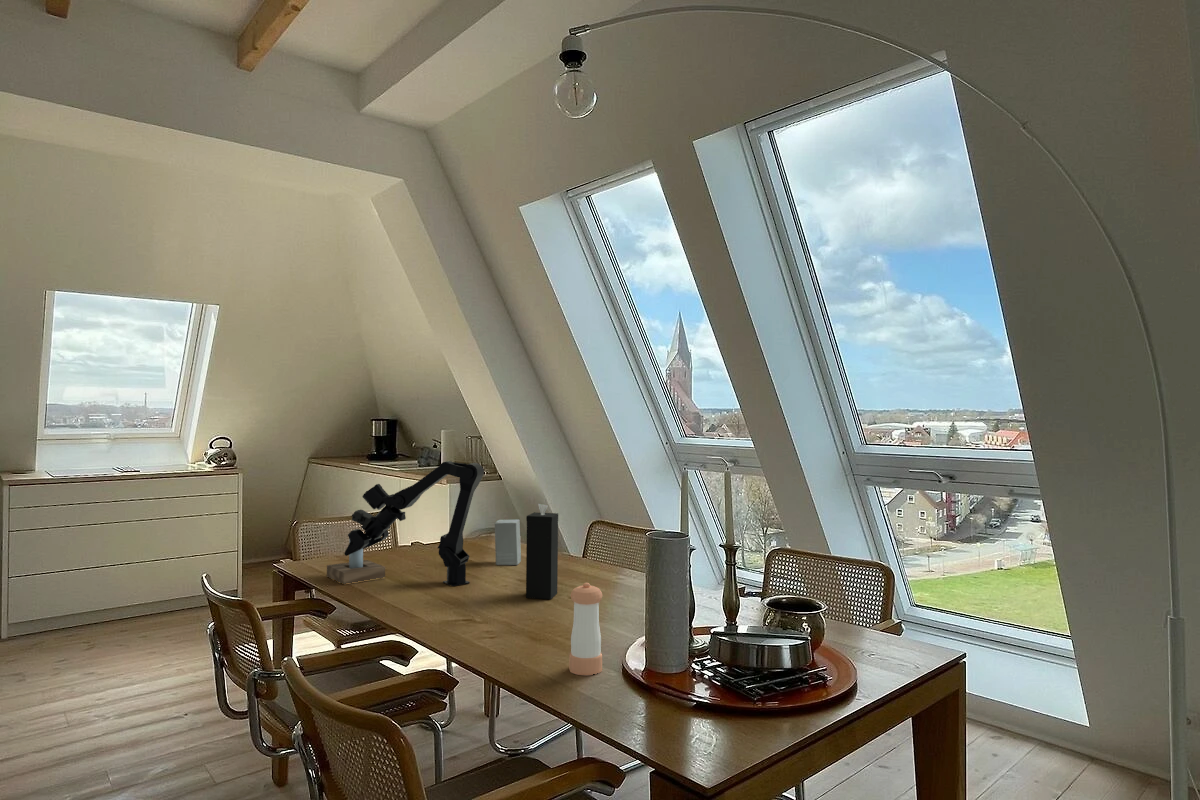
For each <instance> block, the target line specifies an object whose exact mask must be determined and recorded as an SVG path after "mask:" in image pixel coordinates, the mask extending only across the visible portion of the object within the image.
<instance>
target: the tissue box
mask: <svg viewBox="0 0 1200 800" xmlns="http://www.w3.org/2000/svg"><path fill="white" fill-rule="evenodd" d="M537 504H538V509H539V512H533V513H530V514H527V515H526V549H525V550H526V551H525V552H526V558H525V560H526V563H525V564H526V566H525V568H526V570H525V598H527V599H539V600H552V599H553V598H554V597H556V595H557V594H558V571H559V569H558V565H559V564H558V563H559V561H558V560H559V559H558V557H559V556H558V554H559V553H558V552H559V513H558V512H556V513H555V512H546V511H547V509H548V507H549V505H547V504H543V503H542V504H541V503H537Z"/></svg>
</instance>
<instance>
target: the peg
mask: <svg viewBox="0 0 1200 800" xmlns="http://www.w3.org/2000/svg"><path fill="white" fill-rule="evenodd" d="M349 543H350V539H349V538H348V544H349ZM363 560H364V549H361V550H358V551H356V552H354V553H352V554H350V555H348V562H349V568H350V569H354V568H361V567H363Z"/></svg>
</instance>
